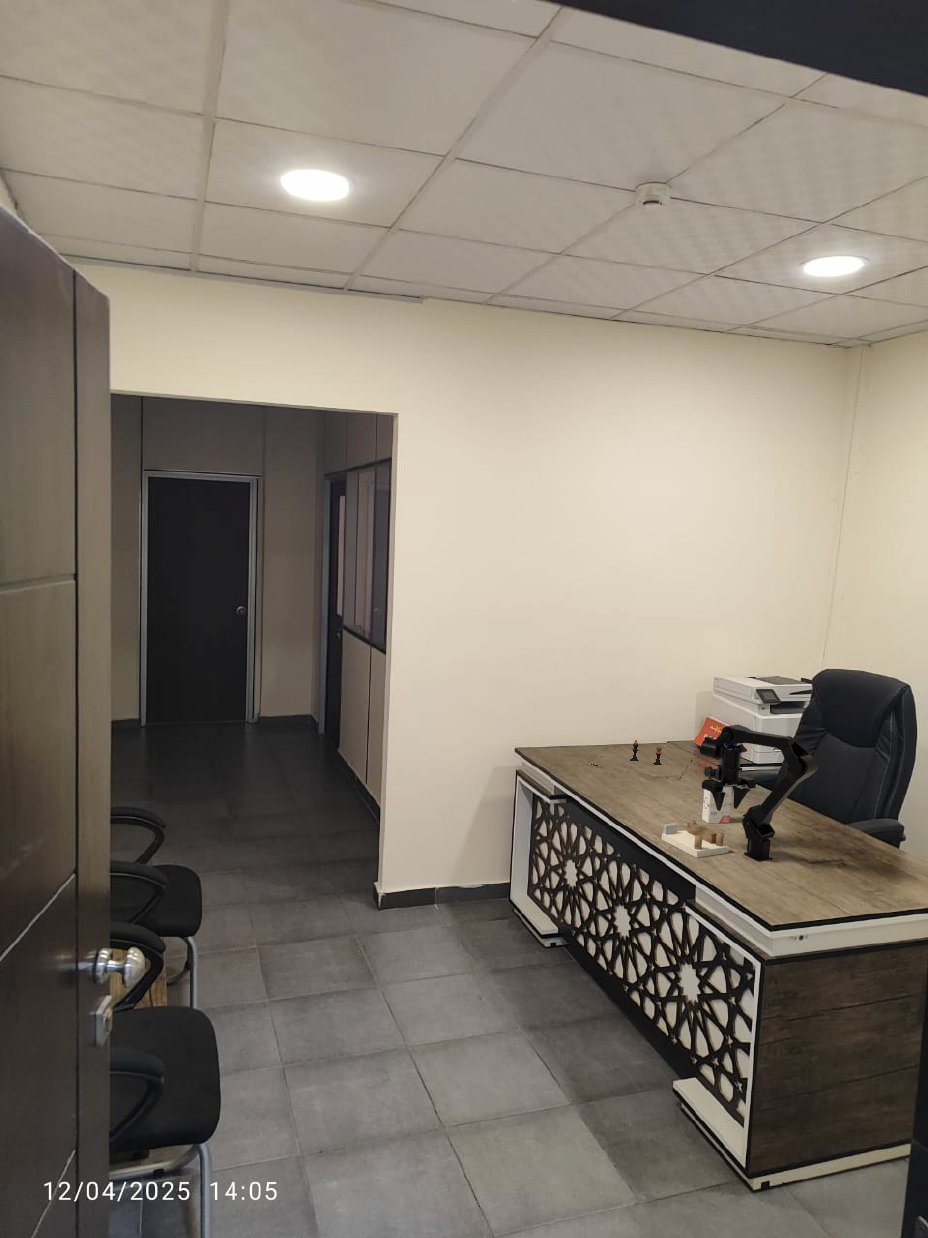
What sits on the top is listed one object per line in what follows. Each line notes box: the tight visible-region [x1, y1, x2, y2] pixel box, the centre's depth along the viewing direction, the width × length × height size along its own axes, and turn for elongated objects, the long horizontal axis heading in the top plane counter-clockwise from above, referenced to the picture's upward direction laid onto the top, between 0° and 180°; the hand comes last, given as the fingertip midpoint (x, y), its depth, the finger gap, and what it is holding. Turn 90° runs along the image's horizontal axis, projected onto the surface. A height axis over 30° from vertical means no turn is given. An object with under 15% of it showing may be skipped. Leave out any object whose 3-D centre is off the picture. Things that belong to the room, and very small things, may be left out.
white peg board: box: [661, 822, 729, 858], centre depth 280 cm, size 17×13×6 cm
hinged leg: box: [686, 819, 717, 843], centre depth 282 cm, size 12×2×4 cm, turn 27°
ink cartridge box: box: [701, 787, 733, 824], centre depth 306 cm, size 9×5×15 cm, turn 101°
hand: (726, 809), depth 281 cm, fingers open, 7 cm apart
